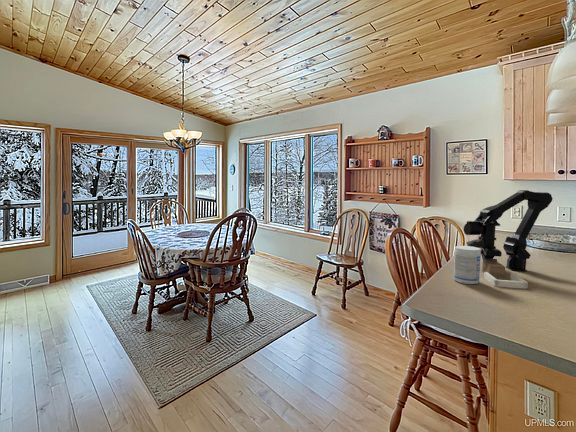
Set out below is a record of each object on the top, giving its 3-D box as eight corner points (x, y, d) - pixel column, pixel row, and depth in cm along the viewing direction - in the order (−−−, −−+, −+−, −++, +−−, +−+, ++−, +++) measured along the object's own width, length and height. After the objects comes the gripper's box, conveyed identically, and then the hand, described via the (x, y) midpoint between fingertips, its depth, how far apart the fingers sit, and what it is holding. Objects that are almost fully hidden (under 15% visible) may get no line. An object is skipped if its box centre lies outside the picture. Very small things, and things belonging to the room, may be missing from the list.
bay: (483, 277, 133) (484, 271, 132) (513, 279, 129) (513, 273, 129) (494, 286, 121) (495, 280, 121) (527, 288, 118) (528, 282, 118)
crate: (482, 271, 142) (482, 258, 141) (496, 272, 140) (497, 258, 140) (489, 277, 133) (490, 262, 133) (504, 278, 132) (505, 263, 131)
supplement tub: (482, 286, 121) (484, 250, 120) (456, 283, 124) (458, 249, 123) (475, 278, 131) (477, 246, 129) (451, 277, 133) (452, 244, 132)
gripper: (463, 231, 154) (461, 260, 155) (475, 237, 136) (473, 270, 138) (488, 232, 151) (486, 262, 152) (503, 238, 133) (500, 272, 135)
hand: (485, 266), depth 144 cm, fingers closed
